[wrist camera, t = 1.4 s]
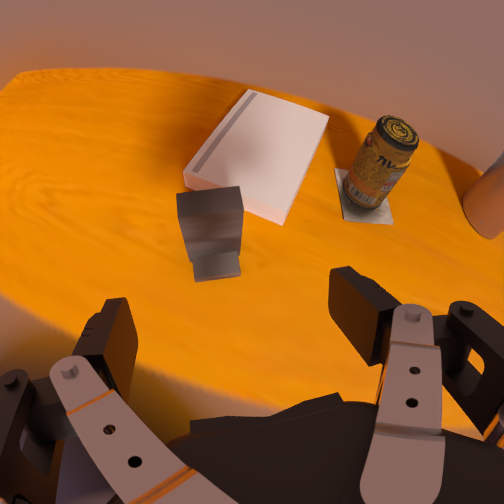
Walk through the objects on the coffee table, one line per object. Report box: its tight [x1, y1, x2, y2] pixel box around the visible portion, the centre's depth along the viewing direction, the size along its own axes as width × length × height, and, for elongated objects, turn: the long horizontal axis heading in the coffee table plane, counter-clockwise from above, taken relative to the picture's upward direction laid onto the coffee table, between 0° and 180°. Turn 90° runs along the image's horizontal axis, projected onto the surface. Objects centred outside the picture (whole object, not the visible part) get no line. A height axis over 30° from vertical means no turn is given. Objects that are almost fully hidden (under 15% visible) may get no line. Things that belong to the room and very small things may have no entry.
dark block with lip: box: [176, 186, 244, 282], centre depth 29 cm, size 6×5×10 cm
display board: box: [183, 89, 329, 226], centre depth 39 cm, size 19×13×3 cm
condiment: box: [334, 115, 419, 225], centre depth 33 cm, size 7×8×12 cm
